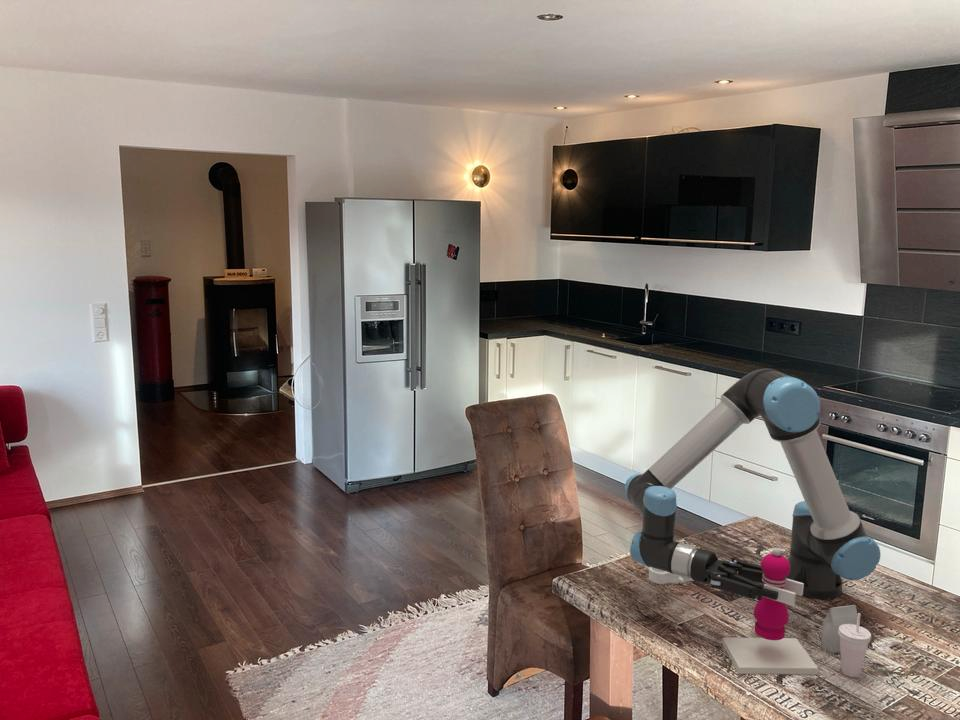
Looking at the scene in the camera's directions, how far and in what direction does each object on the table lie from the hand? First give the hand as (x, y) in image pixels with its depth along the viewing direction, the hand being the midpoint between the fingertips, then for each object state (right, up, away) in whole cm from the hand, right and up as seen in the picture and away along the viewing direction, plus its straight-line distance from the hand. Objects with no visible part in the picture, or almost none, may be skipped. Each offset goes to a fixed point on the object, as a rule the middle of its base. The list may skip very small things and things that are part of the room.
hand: (798, 594), depth 167 cm
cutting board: (-4, -16, +6) cm, 18 cm away
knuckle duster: (-15, -9, +48) cm, 51 cm away
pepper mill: (-4, -10, +5) cm, 12 cm away
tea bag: (+14, -16, +11) cm, 24 cm away
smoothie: (+12, -17, +1) cm, 21 cm away
